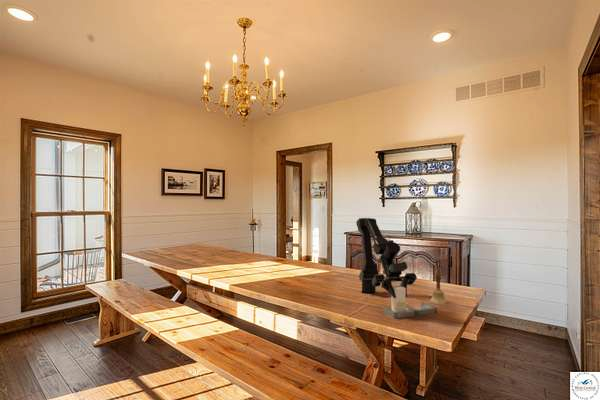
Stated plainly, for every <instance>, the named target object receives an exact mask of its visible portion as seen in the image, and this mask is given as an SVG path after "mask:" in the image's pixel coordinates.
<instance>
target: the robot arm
mask: <svg viewBox="0 0 600 400" xmlns="http://www.w3.org/2000/svg"><path fill="white" fill-rule="evenodd" d="M355 223H356V227H357V230H358V232H359V234H360V235H361V242H362V243H361V244H362V255H363V263H362V265H361V270H360V272H359V275H358V278H359V279H358V280H360V281H361V291H360V293H363V294H370V295H371V294H372V295H373V294H375V293H376V291H377V287H381V288H382V289H384V290H385V291H387V293H389V294H390V295H392V296H393V297H394V298H396V295H395V292H394V289H393V287H392V286H393V285H392V283H393V282H394V283H395V282H399V283H400V284H399V286H403V287H405V288H406V298H407V297H408V292H407V291H408V290H407V289H408V288H407V286H409V285H410V286H411V285H413V284H415V282H416V281H417V279H418V277H417V275H416V273H414V272H406V273H405V274H404V276H402V274H403V273H402V272H405V270H408V264H407V262H406V261H401V262H399V263H395V259H396V258H397V256H398V254H399V252H400V251H401V246H400V245H399V244H398V243H396V242H394V240H388V239H387V238H385V237H384V236H383V234H382V232H381V230H380V227H379V226H378V224H377V219H376V218H371V217H359V218H358V219H357V220H356V222H355ZM372 240H373V244H372ZM372 246H373V247H372ZM373 252H374V253H375V255H377V256H378V255H380V257H379V261H378V262H379V263H380V264H381V266H382V269H383V270H382V274H379V270H378V264H377V263H375V262H374V257H373Z"/></svg>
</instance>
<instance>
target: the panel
mask: <svg viewBox="0 0 600 400" xmlns="http://www.w3.org/2000/svg"><path fill="white" fill-rule="evenodd" d="M382 312H383V313H385V314H387V315H388V316H390V317H391V318H393V319H402V318H411V317H419V316H423V315H431V314H437V313H438V308H437V307H435V306H433V305H431V304H428V303H426V302H425V301H421V302H420V306H413V307H412V306H411V305H409V304H407V303H406V311H405V312H398V313H396V312H394V311H393V310H392V309H391V308H388V307H386V306H382Z"/></svg>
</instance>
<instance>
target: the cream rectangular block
mask: <svg viewBox="0 0 600 400" xmlns="http://www.w3.org/2000/svg"><path fill="white" fill-rule="evenodd" d="M392 287H393V289H394V292H395V295H396V298H394V297H393V296H392V295H391V294H390V295H391V296H390V297H391V298H390V299H391V301H390V302H391V310H393V311H394V312H396V313H398V312H405V311H406V304H407V303H406V302H407V300H406V299H407V297H406V288H405V287H403V286H400V285H392Z"/></svg>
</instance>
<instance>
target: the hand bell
mask: <svg viewBox="0 0 600 400" xmlns="http://www.w3.org/2000/svg"><path fill="white" fill-rule="evenodd" d="M434 276H435V277H434V278H435V282H436V286H435V287H436V289H435V290H432V291H433V292H432V296H431V298H430V300H429V301H431V302H432V303H435V304H447V303H448V300H447V299H446V298H445V293H444V291H443V290H441V280H442V272H441V269H440V268H436V271H435V273H434Z"/></svg>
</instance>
